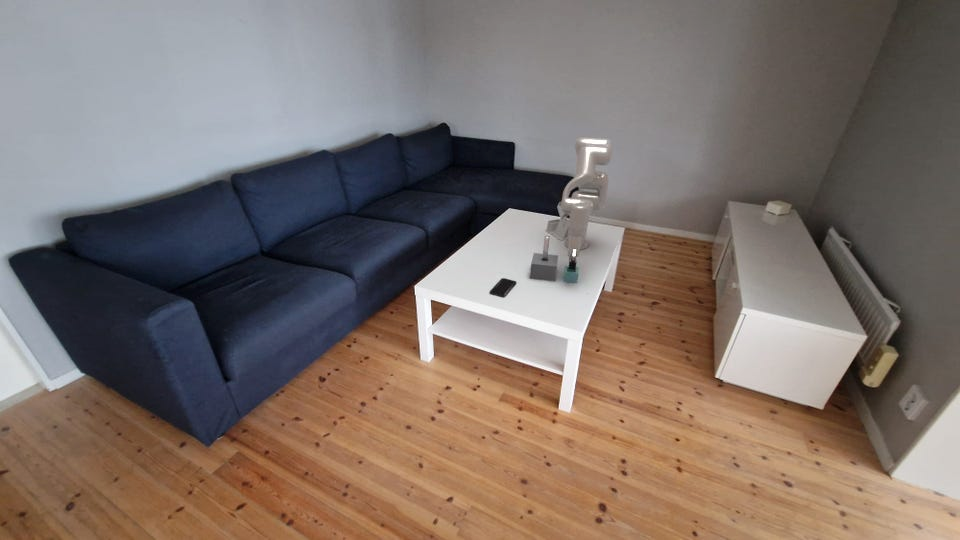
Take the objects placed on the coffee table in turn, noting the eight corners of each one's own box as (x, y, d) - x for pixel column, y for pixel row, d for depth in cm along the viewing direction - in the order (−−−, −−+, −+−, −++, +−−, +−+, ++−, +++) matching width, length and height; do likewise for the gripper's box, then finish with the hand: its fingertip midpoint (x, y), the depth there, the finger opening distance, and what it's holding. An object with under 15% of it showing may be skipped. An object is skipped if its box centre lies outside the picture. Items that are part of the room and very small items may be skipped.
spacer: (563, 275, 192) (564, 266, 190) (577, 276, 191) (578, 267, 189) (563, 281, 187) (564, 272, 185) (576, 283, 186) (578, 273, 183)
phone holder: (544, 230, 242) (547, 202, 233) (558, 228, 246) (561, 200, 237) (560, 241, 228) (564, 211, 219) (575, 238, 232) (579, 209, 223)
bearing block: (532, 266, 200) (533, 252, 196) (556, 269, 197) (558, 255, 193) (529, 278, 189) (531, 263, 186) (555, 281, 187) (556, 266, 183)
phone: (517, 281, 185) (504, 296, 173) (517, 283, 186) (504, 298, 174) (502, 277, 188) (488, 292, 177) (501, 279, 189) (488, 294, 177)
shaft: (542, 261, 192) (544, 235, 185) (547, 262, 191) (549, 235, 185) (541, 263, 190) (544, 237, 183) (546, 264, 189) (549, 237, 182)
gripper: (568, 223, 185) (564, 256, 193) (567, 237, 170) (563, 272, 178) (585, 225, 184) (580, 258, 191) (585, 238, 169) (580, 273, 176)
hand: (572, 264), depth 185 cm, fingers open, 9 cm apart
